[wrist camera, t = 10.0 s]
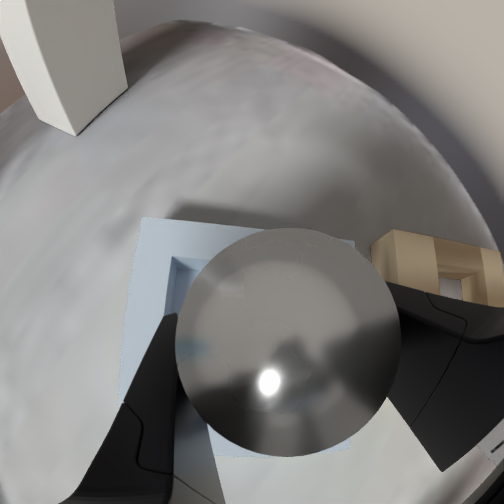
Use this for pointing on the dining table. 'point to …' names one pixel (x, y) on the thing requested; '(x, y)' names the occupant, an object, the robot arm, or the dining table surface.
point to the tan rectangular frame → (439, 265)
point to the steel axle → (288, 342)
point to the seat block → (174, 294)
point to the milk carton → (64, 57)
